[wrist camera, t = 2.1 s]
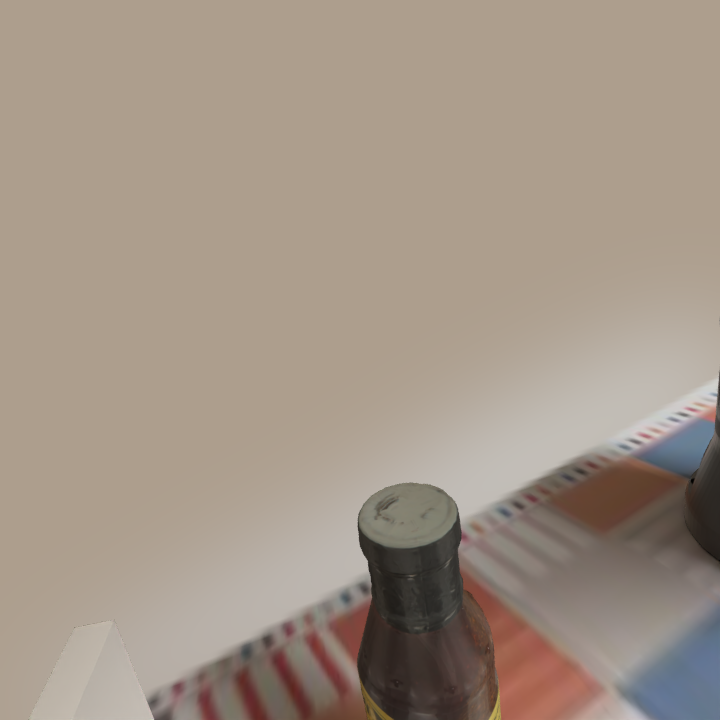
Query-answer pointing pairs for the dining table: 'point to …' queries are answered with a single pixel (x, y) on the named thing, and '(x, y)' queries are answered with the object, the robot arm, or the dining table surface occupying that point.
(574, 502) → the dining table surface
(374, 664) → the sauce bottle
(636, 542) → the dining table surface
